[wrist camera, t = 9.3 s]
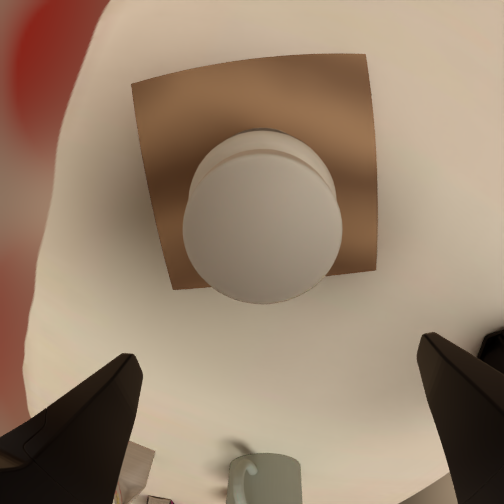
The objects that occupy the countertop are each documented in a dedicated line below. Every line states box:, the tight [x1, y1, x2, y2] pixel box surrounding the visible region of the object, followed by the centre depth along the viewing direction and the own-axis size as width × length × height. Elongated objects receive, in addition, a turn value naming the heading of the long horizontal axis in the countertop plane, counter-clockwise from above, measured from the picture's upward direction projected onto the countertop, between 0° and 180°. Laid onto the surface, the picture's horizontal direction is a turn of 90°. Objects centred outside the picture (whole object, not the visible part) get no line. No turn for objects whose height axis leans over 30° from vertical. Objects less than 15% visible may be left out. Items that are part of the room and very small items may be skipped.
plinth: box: [131, 54, 378, 290], centre depth 18 cm, size 14×14×1 cm
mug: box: [226, 453, 302, 504], centre depth 28 cm, size 14×9×10 cm
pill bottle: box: [183, 127, 343, 304], centre depth 13 cm, size 6×6×10 cm
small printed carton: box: [114, 441, 155, 504], centre depth 30 cm, size 4×7×10 cm, turn 153°
